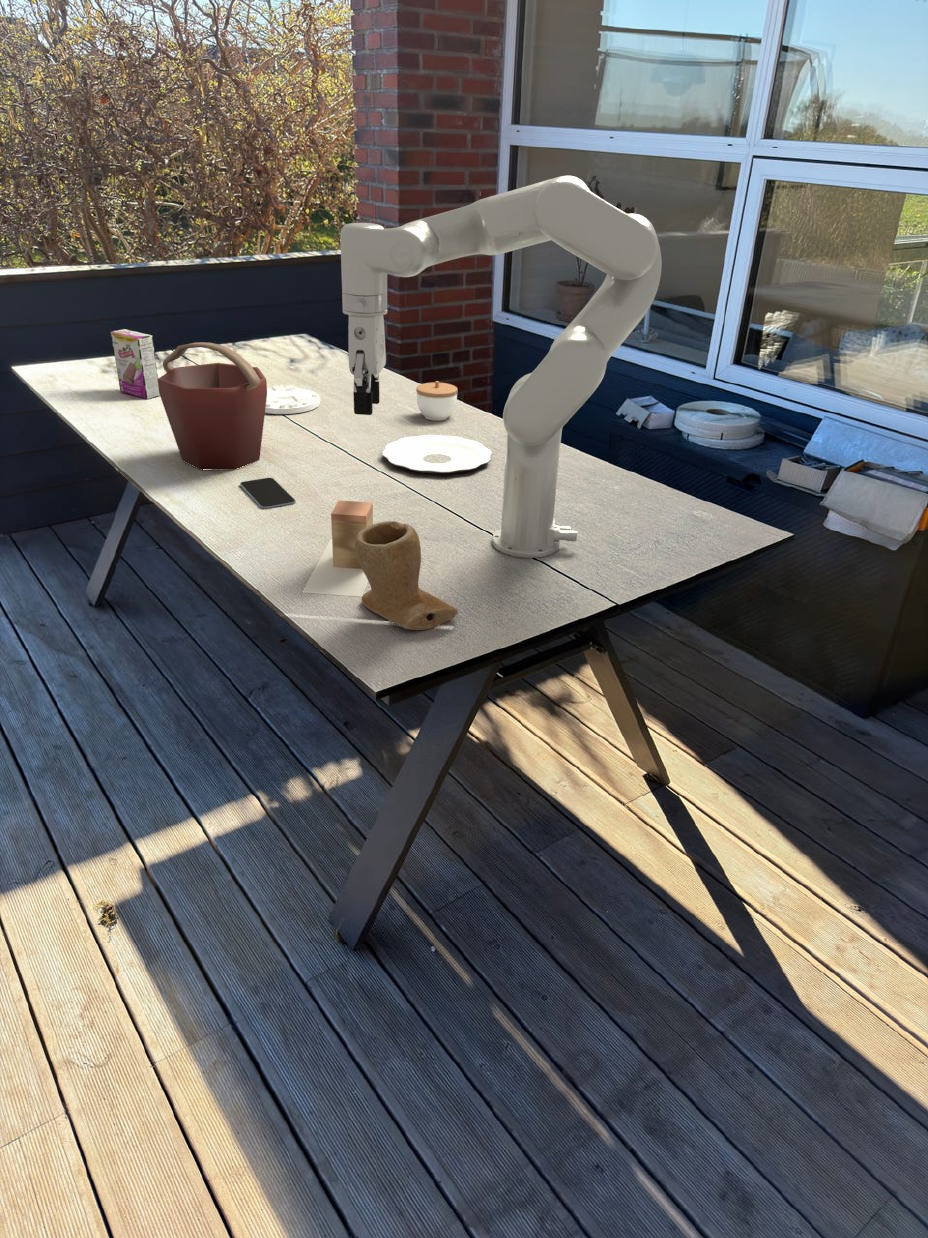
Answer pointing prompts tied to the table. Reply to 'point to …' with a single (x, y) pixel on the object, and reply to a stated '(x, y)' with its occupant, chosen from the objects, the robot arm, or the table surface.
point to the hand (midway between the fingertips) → (367, 407)
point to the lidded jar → (436, 400)
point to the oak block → (348, 530)
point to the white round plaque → (290, 400)
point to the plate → (457, 448)
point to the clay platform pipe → (397, 577)
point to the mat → (335, 578)
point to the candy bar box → (135, 363)
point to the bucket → (215, 409)
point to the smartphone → (267, 493)
